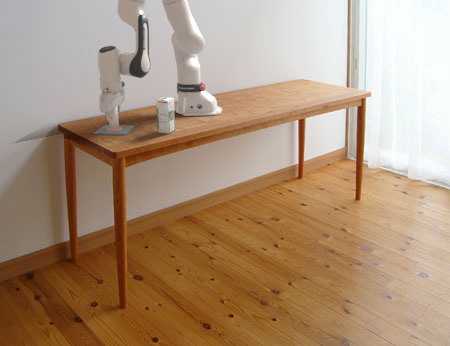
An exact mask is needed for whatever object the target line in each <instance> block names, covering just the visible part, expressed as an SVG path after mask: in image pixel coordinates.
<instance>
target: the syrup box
mask: <svg viewBox="0 0 450 346" xmlns="http://www.w3.org/2000/svg"><path fill="white" fill-rule="evenodd" d="M155 102H156V104H155V105H156V106H155V107H156V108H155V109H156V127H157V133H159V134H171V133H173V132H175V131H176V121H175V120H176V118H175V116H176V115H175V98H174V97H167V96H163V97H160V98H158V99H156V100H155Z"/></svg>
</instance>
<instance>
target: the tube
mask: <svg viewBox="0 0 450 346" xmlns="http://www.w3.org/2000/svg"><path fill="white" fill-rule="evenodd" d="M110 114H111V116H112V120H111V121H108V123H109V124H108V125H110V130H118V129H119V125H120V122H119V115H118V107H116V108H114V109H113V110H111V113H110Z"/></svg>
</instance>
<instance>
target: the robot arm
mask: <svg viewBox="0 0 450 346" xmlns="http://www.w3.org/2000/svg"><path fill="white" fill-rule="evenodd" d="M145 3H146V2H145V0H118V1H117V7H116V9H117V14H118V17H119V18H120V20H121V21H122V22H124V23H126V24H127V25H129V26H130V27H132V28H133V30H134V33H135V52H124V51H122V50H119V49H118V47H116V46H115V45H106V46H103V47H101V48H100V49H98V53H97V70H98V72H99V87H100V92H101V93H100V95H99V111H100V113H103V114H105V117H106V122H107V121H108V122H109V121H111V120H112V116H111V114H110V113H111V110H113V109H114V108H116V107H118V116H120V114H121V107H122V106H121V105H122V104H123V103H124V102H125V86H126V83H125V81H123V80H122V78H121V76H129V77H134V78H139V79H142V78H144V77H146V76H147V75H148V74H149V72H150V70H151V58H150V25H149V19H148V17H147V16H146V15H145ZM161 3H162V5H163V8H164V13H165V15H166V18H167V21H168V23H169V24H170V26H171V27H172V30H173V33H172V34H171V39H170V41H171V44H172V48H173V52H174V58H175V63H176V70H177V71H176V72H177V74H176V75H177V83H176V92H177V105H176V109H175V113H177V114H178V115H179V114H180V115H182V116H184V117H193V116H195V117H196V116H201V117H202V116H218V115H219V114H221V113H222V112H223V108H222V107H221V106H218V102H217V98H216V97H215V96H214V95H212V93H210V92H209V91H207V90H206V82H204V83H203V82H202V79H201V78H202V77H201V64H200V62H199V58H198V55H199V54H201V53H202V52H203V51H204V49H205V47H206V40H205V38H204V37H203V35H202V33H201V31H200V29H199V26H198V25H197V23H196V20H195V18H194V16H193V14H192V12H191V8H190V5H189V2H188V0H161Z"/></svg>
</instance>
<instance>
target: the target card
mask: <svg viewBox="0 0 450 346" xmlns="http://www.w3.org/2000/svg"><path fill="white" fill-rule="evenodd" d="M135 128H136V126H135V125H128V124H126V125H125V124H123V125H121V124H119V129H118V130H110V124H104V125H103V126H101V127H100V128H98V129H97V130H95V131H94V132H93V135H107V136H112V135H113V136H126V135H127V134H128V133H130V132H131V131H132V130H134V129H135Z"/></svg>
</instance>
